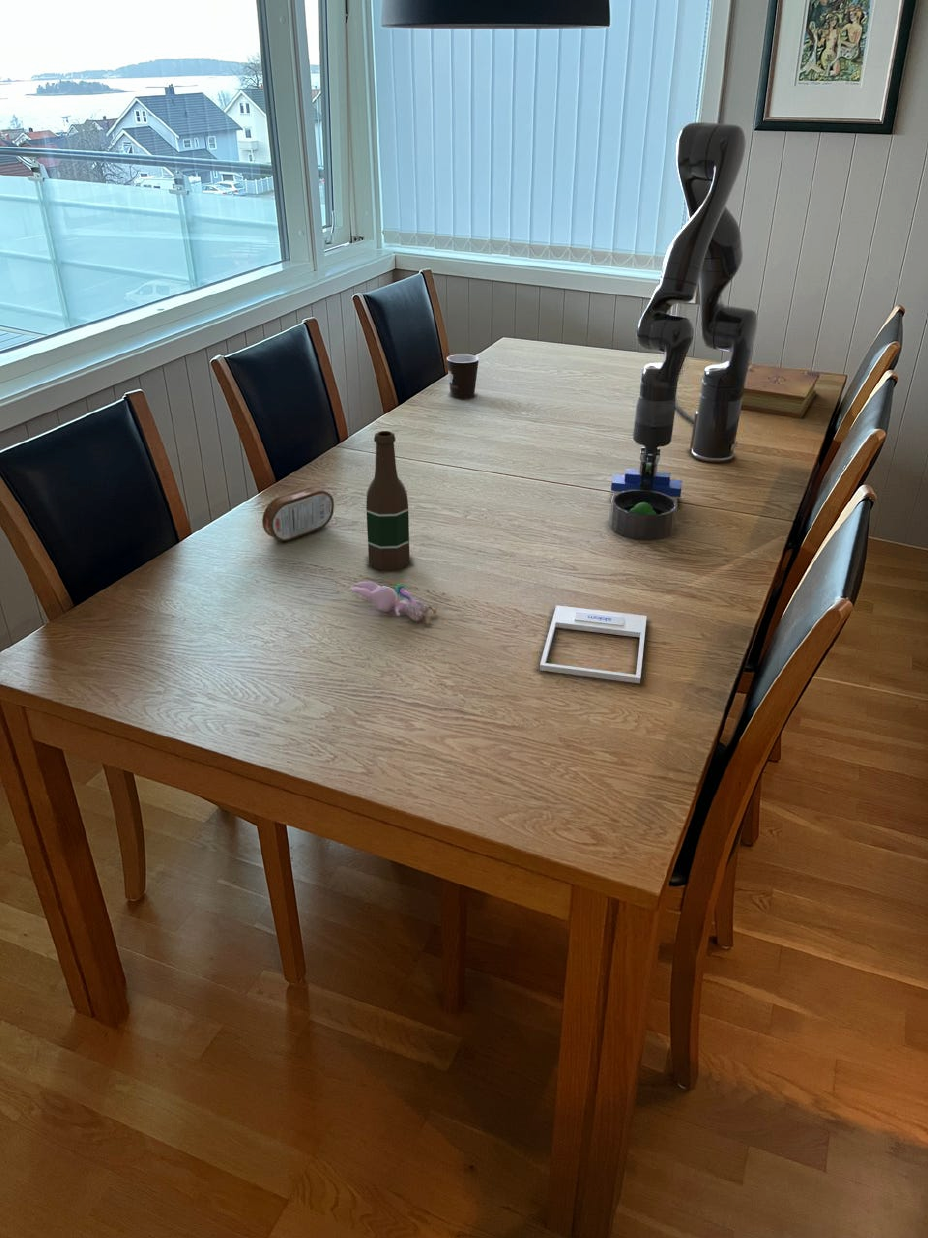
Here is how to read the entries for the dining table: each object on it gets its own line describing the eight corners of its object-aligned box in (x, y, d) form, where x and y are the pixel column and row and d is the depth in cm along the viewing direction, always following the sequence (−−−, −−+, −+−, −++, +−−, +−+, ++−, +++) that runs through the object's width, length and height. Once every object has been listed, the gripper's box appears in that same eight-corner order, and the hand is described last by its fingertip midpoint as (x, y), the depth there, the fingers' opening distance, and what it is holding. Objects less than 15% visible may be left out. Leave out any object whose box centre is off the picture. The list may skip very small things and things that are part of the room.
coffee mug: (478, 400, 246) (478, 362, 241) (446, 399, 246) (446, 362, 241) (478, 387, 256) (478, 351, 251) (447, 386, 256) (447, 350, 251)
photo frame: (646, 614, 147) (640, 677, 132) (645, 620, 148) (639, 683, 133) (556, 604, 150) (540, 663, 135) (555, 610, 150) (539, 670, 135)
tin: (328, 519, 180) (325, 479, 176) (338, 524, 178) (335, 484, 174) (263, 543, 171) (258, 501, 167) (273, 548, 169) (268, 506, 165)
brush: (609, 501, 189) (612, 474, 186) (611, 492, 193) (614, 465, 190) (678, 508, 187) (682, 480, 183) (679, 499, 191) (683, 471, 188)
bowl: (597, 520, 181) (599, 494, 178) (651, 511, 185) (654, 485, 182) (630, 546, 171) (633, 519, 168) (686, 536, 175) (690, 509, 172)
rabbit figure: (439, 619, 151) (360, 587, 155) (444, 589, 147) (363, 557, 151) (421, 637, 146) (340, 603, 150) (426, 606, 142) (344, 573, 146)
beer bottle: (377, 575, 161) (371, 444, 148) (361, 557, 166) (354, 429, 154) (418, 566, 164) (415, 437, 151) (400, 548, 170) (396, 423, 157)
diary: (747, 384, 261) (750, 364, 258) (815, 393, 254) (819, 373, 251) (728, 406, 243) (732, 385, 240) (801, 417, 236) (805, 395, 233)
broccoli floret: (622, 526, 178) (625, 503, 175) (641, 518, 181) (644, 495, 179) (644, 535, 174) (647, 512, 172) (663, 527, 178) (666, 504, 175)
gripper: (637, 405, 188) (628, 483, 196) (633, 428, 176) (624, 510, 184) (674, 408, 186) (664, 487, 195) (673, 431, 174) (662, 514, 183)
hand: (644, 497), depth 190 cm, fingers open, 5 cm apart
